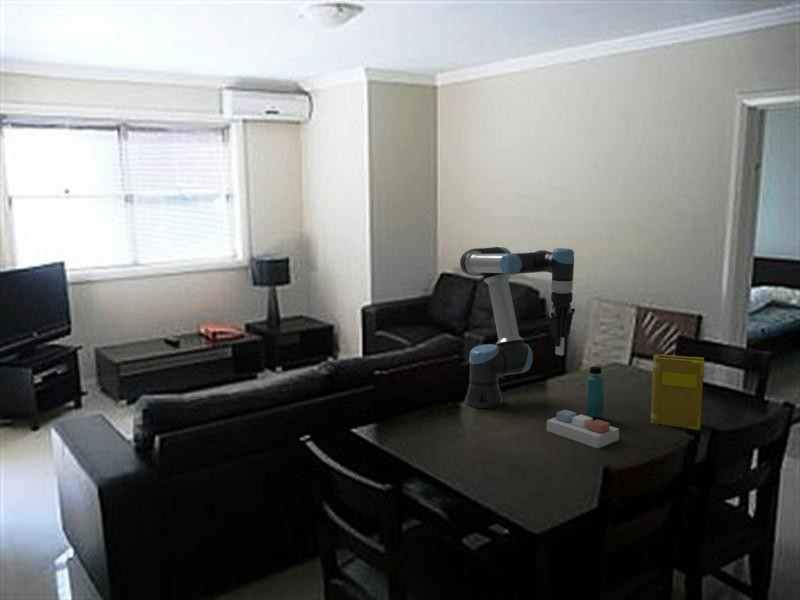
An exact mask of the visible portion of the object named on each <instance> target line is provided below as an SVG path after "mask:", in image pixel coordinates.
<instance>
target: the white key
mask: <svg viewBox="0 0 800 600" xmlns="http://www.w3.org/2000/svg"><path fill="white" fill-rule="evenodd" d="M593 418H594V417H591V416H588V415H584V414H578V415H576V416H575V417H572V425H574V426H577V427H580V428H583V429H585V428H587V427H588V424H589V422H591V421H594V419H593Z"/></svg>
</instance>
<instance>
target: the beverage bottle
mask: <svg viewBox="0 0 800 600" xmlns="http://www.w3.org/2000/svg"><path fill="white" fill-rule="evenodd" d="M589 369H590V370H589V373H590V375H589V376H588V377H587V378H586V406H585V407H586V408H585V413H586V416H588V417H591V418H601V417H603V416H604V413H605V412H604V410H605V404H604V403H605V402H604V401H605V396H604V395H605V378H604V377H603V376H602V375H600V374H602V367H600V366H591V367H590V368H589Z"/></svg>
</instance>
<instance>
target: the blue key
mask: <svg viewBox="0 0 800 600" xmlns="http://www.w3.org/2000/svg"><path fill="white" fill-rule="evenodd" d="M555 414H556V416H555V417H556V420H558V421H561V422H565V423H571V422H572V417H575V416H577V414H578V413H577V412H574V411H571V410H567V409H564V410H559V411H558V412H556V413H555Z"/></svg>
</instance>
